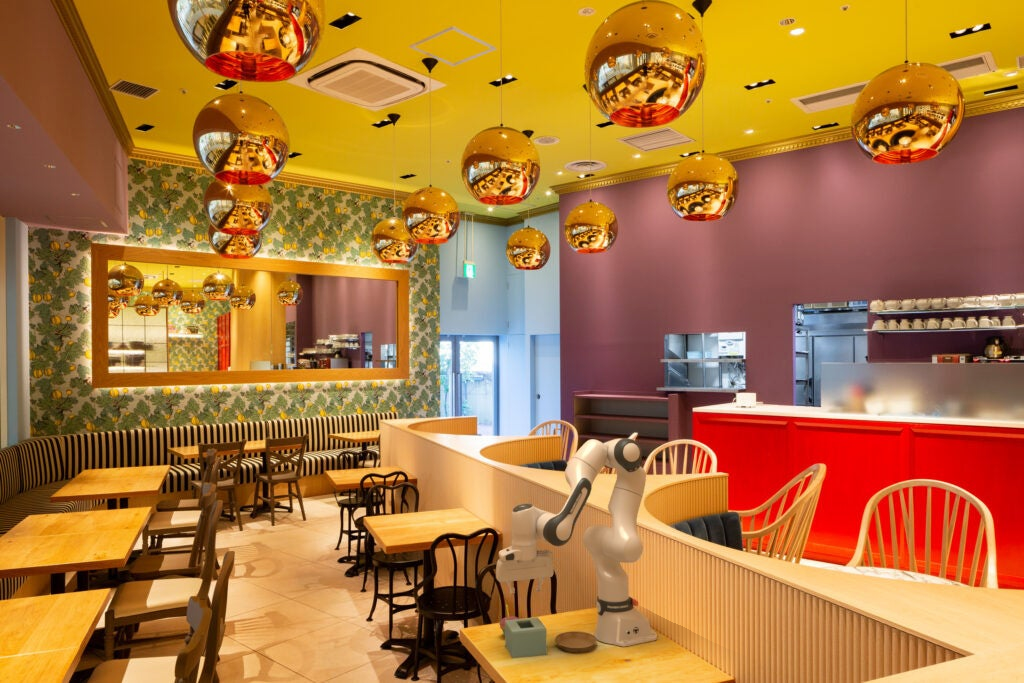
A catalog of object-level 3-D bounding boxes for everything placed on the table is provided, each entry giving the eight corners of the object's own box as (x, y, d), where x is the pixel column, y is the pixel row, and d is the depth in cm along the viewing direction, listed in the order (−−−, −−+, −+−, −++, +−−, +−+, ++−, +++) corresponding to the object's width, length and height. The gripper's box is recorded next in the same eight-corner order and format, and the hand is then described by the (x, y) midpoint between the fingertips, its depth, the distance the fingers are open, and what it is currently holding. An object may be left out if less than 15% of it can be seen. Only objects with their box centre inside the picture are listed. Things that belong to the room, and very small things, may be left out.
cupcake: (495, 639, 243) (495, 605, 244) (506, 631, 250) (506, 598, 251) (516, 643, 239) (516, 608, 240) (527, 635, 246) (526, 601, 247)
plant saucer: (591, 657, 226) (591, 649, 226) (549, 652, 231) (549, 644, 231) (601, 641, 240) (600, 633, 240) (561, 636, 245) (561, 629, 245)
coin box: (538, 642, 239) (537, 617, 240) (546, 654, 229) (546, 628, 229) (505, 645, 237) (505, 620, 237) (512, 658, 226) (512, 631, 226)
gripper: (550, 546, 240) (551, 586, 239) (494, 552, 235) (495, 592, 235) (555, 551, 234) (556, 591, 233) (498, 556, 229) (499, 598, 228)
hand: (525, 592), depth 234 cm, fingers open, 8 cm apart
